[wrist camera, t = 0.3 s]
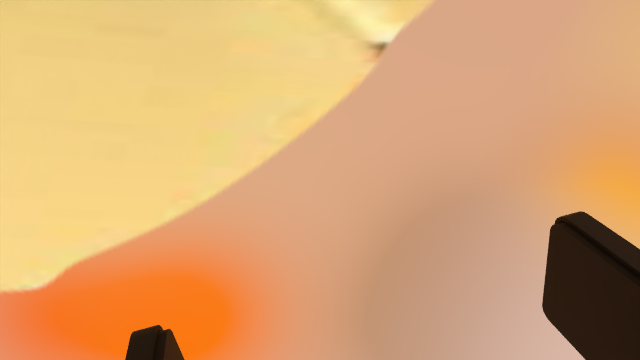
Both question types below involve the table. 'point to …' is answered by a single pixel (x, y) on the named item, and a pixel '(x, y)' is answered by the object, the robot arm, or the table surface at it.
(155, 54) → the table surface
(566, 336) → the robot arm
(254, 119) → the table surface
